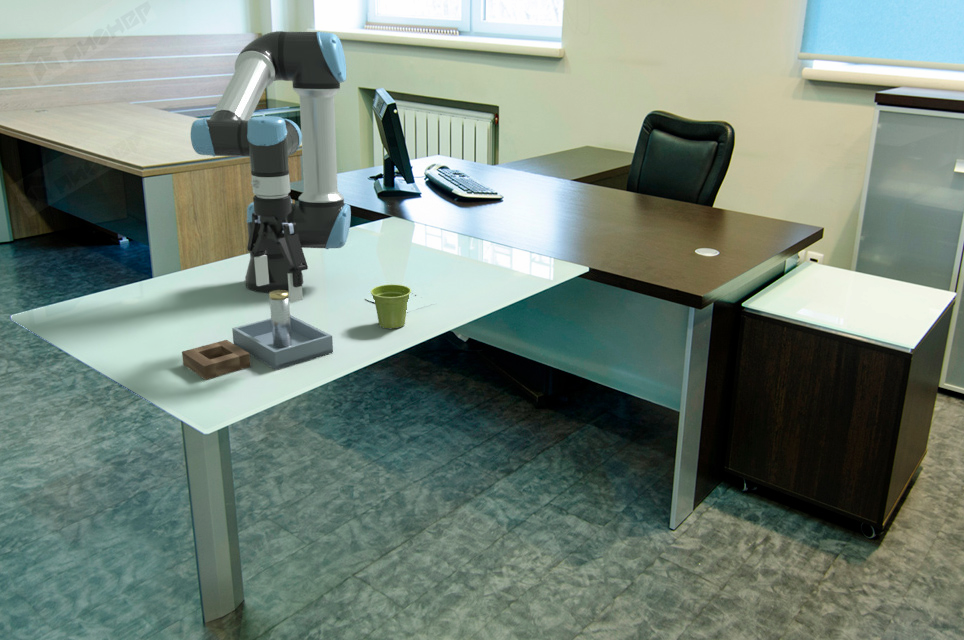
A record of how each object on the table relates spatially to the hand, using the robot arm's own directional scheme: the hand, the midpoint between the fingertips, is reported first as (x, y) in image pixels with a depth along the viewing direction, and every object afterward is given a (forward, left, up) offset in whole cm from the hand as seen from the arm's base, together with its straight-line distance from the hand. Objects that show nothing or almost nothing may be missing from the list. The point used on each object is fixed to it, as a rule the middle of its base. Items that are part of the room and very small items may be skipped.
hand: (279, 292), depth 175 cm
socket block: (+15, -1, -13) cm, 20 cm away
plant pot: (-27, +4, -13) cm, 30 cm away
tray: (0, 0, -13) cm, 13 cm away
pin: (0, 0, -12) cm, 12 cm away
